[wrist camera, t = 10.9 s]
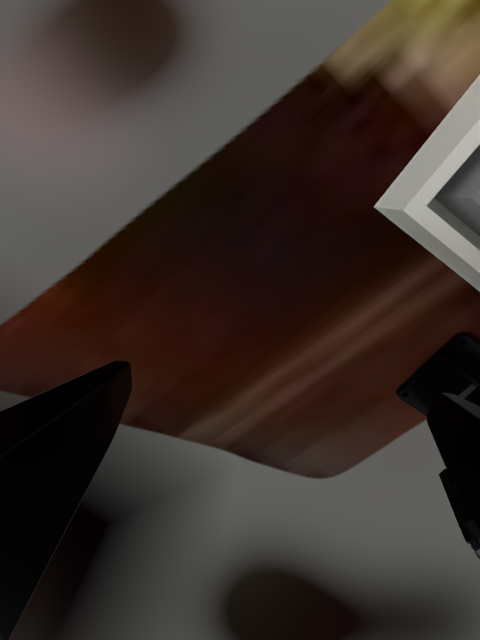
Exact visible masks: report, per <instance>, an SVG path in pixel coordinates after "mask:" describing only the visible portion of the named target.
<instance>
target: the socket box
mask: <svg viewBox="0 0 480 640" xmlns="http://www.w3.org/2000/svg"><path fill="white" fill-rule="evenodd" d="M374 208H376V209H377V210H378V211H379V212H381V213H382V214H383V215H384V216H386V217H387V218H388V219H389V220H391V221H392V222H393V223H394V224H396V225H397V226H398V227H399V228H401V229H402V230H403V231H404V232H406V233H407V234H408V235H409V236H411V237H412V238H413V239H414V240H416V241H417V242H418V243H419V244H421V245H422V246H423V247H424V248H426V249H427V250H428V251H429V252H431V253H432V254H433V255H434V256H436V257H437V258H438V259H439V260H441V261H442V262H443V263H444V264H446V265H447V266H448V267H449V268H451V269H452V270H453V271H454V272H456V273H457V274H458V275H459V276H461V277H462V278H463V279H464V280H466V281H467V282H468V283H469V284H471V285H472V286H473V287H474V288H476V289H477V290H478V291H479V292H480V75H479V76H478V77H477V78H476V80H475V81H474V82H473V83H472V85H471V86H470V87H469V88H468V90H467V91H466V92H465V93H464V95H463V96H462V97H461V98H460V100H459V101H458V102H457V103H456V105H455V106H454V107H453V108H452V110H451V111H450V112H449V113H448V115H447V116H446V117H445V118H444V120H443V121H442V122H441V123H440V125H439V126H438V127H437V128H436V130H435V131H434V132H433V133H432V135H431V136H430V137H429V138H428V140H427V141H426V142H425V143H424V145H423V146H422V147H421V148H420V150H419V151H418V152H417V153H416V155H415V156H414V157H413V158H412V160H411V161H410V162H409V163H408V165H407V166H406V167H405V168H404V170H403V171H402V172H401V173H400V175H399V176H398V177H397V178H396V180H395V181H394V182H393V183H392V185H391V186H390V187H389V188H388V190H387V191H386V192H385V193H384V195H383V196H382V197H381V198H380V200H379V201H378V202H377V203H376V205H375V206H374Z"/></svg>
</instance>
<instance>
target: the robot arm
mask: <svg viewBox="0 0 480 640" xmlns="http://www.w3.org/2000/svg"><path fill="white" fill-rule="evenodd" d="M462 339H463V340H462ZM460 340H462V342H460V343H459V341H460ZM131 389H132V379H131V365H130V363H129V362H127V361H113V362H111V363H108V364H106V365H104V366H102V367H99V368H97V369H95V370H93V371H90V372H88V373H86V374H84V375H81V376H79V377H77V378H75V379H72V380H70V381H68V382H66V383H63V384H61V385H59V386H57V387H54V388H52V389H50V390H48V391H45V392H43V393H41V394H39V395H36V396H34V397H32V398H30V399H27V400H25V401H23V402H21V403H18V404H16V405H14V406H12V407H9V408H7V409H5V410H3V411H0V640H9V637H10V636H11V634H12V632H13V630H14V628H15V626H16V624H17V622H18V621H19V619H20V617H21V615H22V613H23V611H24V609H25V607H26V605H27V603H28V601H29V599H30V598H31V595H32V594H33V592H34V590H35V588H36V586H37V584H38V582H39V580H40V578H41V576H42V575H43V573H44V571H45V569H46V567H47V565H48V563H49V561H50V559H51V557H52V555H53V553H54V552H55V550H56V548H57V546H58V544H59V542H60V540H61V538H62V536H63V534H64V532H65V531H66V528H67V527H68V525H69V523H70V521H71V519H72V517H73V515H74V513H75V511H76V509H77V508H78V506H79V504H80V502H81V500H82V498H83V496H84V494H85V492H86V490H87V488H88V486H89V484H90V483H91V481H92V479H93V477H94V475H95V473H96V471H97V469H98V467H99V465H100V463H101V461H102V459H103V458H104V456H105V454H106V452H107V450H108V448H109V446H110V444H111V442H112V440H113V437H114V435H115V433H116V430H117V428H118V425H119V422H120V420H121V417H122V415H123V412H124V409H125V407H126V404H127V402H128V399H129V396H130V394H131ZM404 392H406V393H405V394H402V393H404ZM396 393H397V395H398V397H399V398H400V399H401V400H403V401H404V402H406V403H407V404H409V405H410V406H412V407H414V408H415V409H417V410H418V411H420V412H421V413H423V414H424V415H426V416H427V422H428V425H429V428H430V430H431V433H432V435H433V438H434V440H435V442H436V445H437V447H438V449H439V452H440V454H441V457H442V459H443V461H444V464H445V466H446V468H447V469H444V470H443V471H442V472H441V473H440V474H439V476H440V478H441V481H442V484H443V486H444V489H445V491H446V494H447V496H448V499H449V501H450V504H451V507H452V509H453V512H454V514H455V517H456V519H457V522H458V524H459V526H460V529H461V531H462V533H463V536H464V538H465V540H466V542H467V543H468V545H469V546H470V547H471V548H472V549H473V550H474V551H475V553H476V555H477V556H478V558H479V559H480V345H478V344H477V343H476V342H474V341H473V340H472V339H470V338H469V337H468V336H466V335H464V334H457V335H455V336H454V337H453V338H452V339H451V340H450V341H449V342H448V343H446V344H445V345H444V346H443V347H442V348H441V349H440V350H439V351H438V352H437V353H436V354H435V355H434V356H432V357H431V358H430V359H429V360H428V361H427V362H426V363H425V364H424V365H423V366H422V367H421V368H420V369H419V370H417V371H416V372H415V373H414V374H413V375H412V376H411V377H410V378H409V379H408V380H407V381H406V382H405V383H403V384H402V385H401V386H400V387H399V388H398V389H397V391H396Z"/></svg>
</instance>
